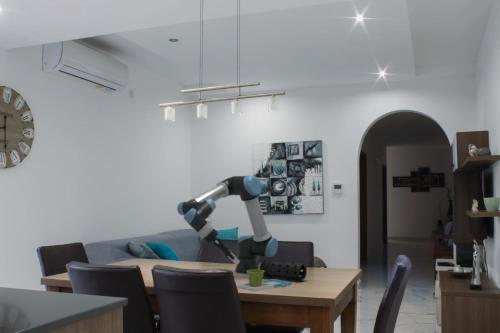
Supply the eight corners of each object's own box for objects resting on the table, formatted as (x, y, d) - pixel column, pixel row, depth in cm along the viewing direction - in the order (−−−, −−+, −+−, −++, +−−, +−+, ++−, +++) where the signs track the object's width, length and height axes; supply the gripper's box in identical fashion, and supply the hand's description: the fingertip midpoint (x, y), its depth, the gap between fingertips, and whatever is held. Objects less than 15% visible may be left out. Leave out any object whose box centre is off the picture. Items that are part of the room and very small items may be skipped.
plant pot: (268, 287, 265) (268, 271, 265) (254, 289, 259) (254, 272, 259) (256, 285, 272) (256, 269, 272) (243, 287, 266) (242, 270, 266)
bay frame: (234, 286, 267) (234, 284, 267) (270, 281, 285) (270, 278, 285) (257, 291, 254) (257, 288, 254) (293, 285, 271) (293, 282, 271)
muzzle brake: (298, 283, 279) (298, 264, 279) (257, 278, 295) (256, 260, 295) (307, 280, 286) (307, 262, 287) (265, 276, 302) (265, 259, 303)
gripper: (202, 236, 275) (229, 263, 276) (204, 240, 251) (234, 270, 252) (212, 226, 276) (239, 253, 277) (214, 229, 252) (244, 259, 253)
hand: (237, 261), depth 265 cm, fingers open, 13 cm apart
